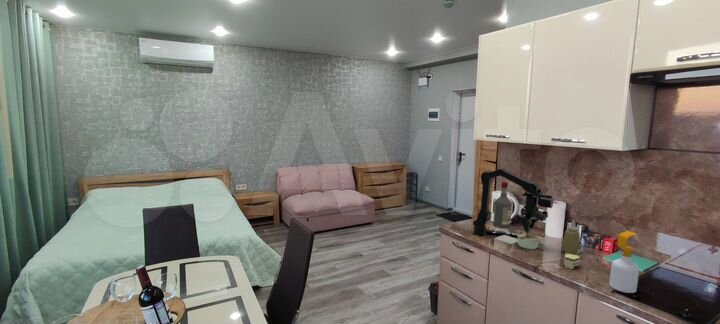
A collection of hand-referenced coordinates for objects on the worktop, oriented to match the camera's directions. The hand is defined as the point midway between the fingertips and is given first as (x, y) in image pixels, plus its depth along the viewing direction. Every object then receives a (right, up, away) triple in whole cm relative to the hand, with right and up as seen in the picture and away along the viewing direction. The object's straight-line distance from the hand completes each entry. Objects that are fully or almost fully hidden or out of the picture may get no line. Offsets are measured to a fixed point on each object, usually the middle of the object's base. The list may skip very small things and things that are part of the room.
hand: (528, 231), depth 187 cm
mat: (-7, -7, +11) cm, 15 cm away
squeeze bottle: (+18, -10, -8) cm, 22 cm away
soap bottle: (+17, -15, -45) cm, 51 cm away
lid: (0, -4, 0) cm, 4 cm away
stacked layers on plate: (+8, -12, -25) cm, 29 cm away
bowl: (0, -8, +1) cm, 8 cm away
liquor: (0, -4, +37) cm, 37 cm away
